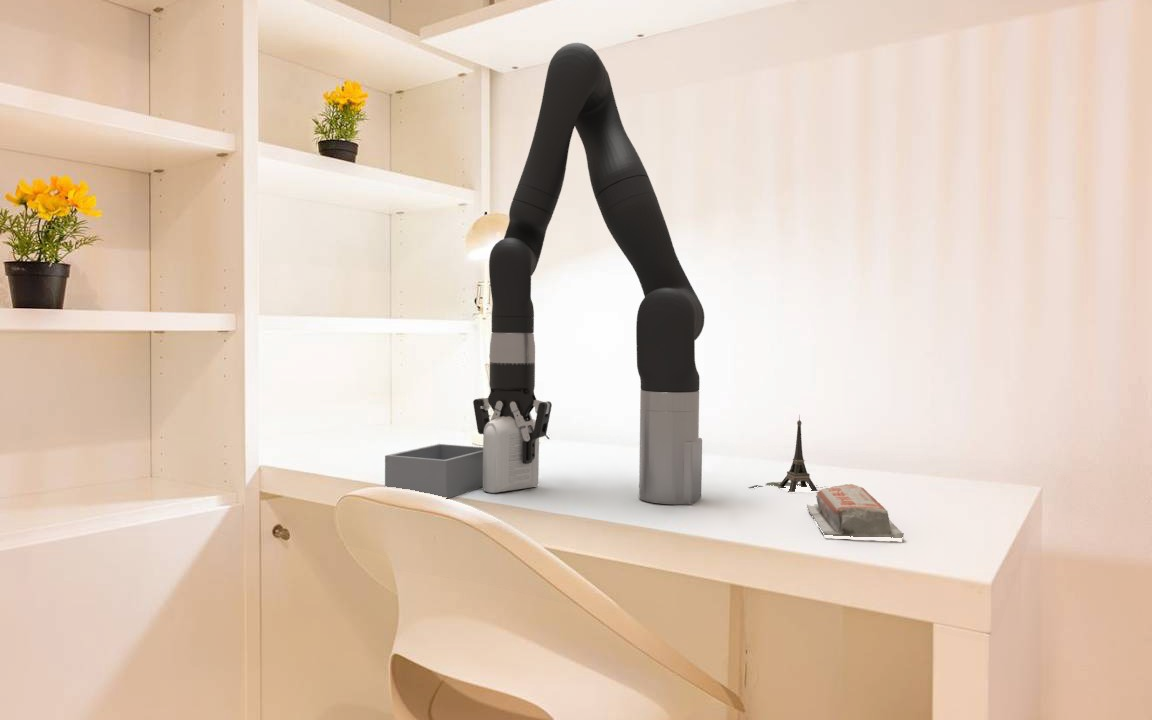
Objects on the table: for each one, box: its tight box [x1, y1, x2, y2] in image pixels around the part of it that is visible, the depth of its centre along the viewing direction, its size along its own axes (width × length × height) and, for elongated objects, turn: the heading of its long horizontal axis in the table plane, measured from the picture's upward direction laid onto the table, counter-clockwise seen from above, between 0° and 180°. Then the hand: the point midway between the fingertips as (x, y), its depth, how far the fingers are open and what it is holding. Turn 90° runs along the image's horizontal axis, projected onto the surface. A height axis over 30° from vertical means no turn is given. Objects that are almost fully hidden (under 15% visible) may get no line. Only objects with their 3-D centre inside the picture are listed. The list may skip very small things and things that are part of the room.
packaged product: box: [806, 483, 904, 538], centre depth 112 cm, size 18×5×10 cm
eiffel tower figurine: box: [748, 414, 819, 493], centre depth 137 cm, size 15×10×13 cm
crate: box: [384, 443, 483, 499], centre depth 135 cm, size 12×16×6 cm
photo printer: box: [482, 416, 540, 494], centre depth 134 cm, size 10×4×12 cm, turn 135°
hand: (511, 461), depth 134 cm, fingers closed on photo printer, 5 cm apart
